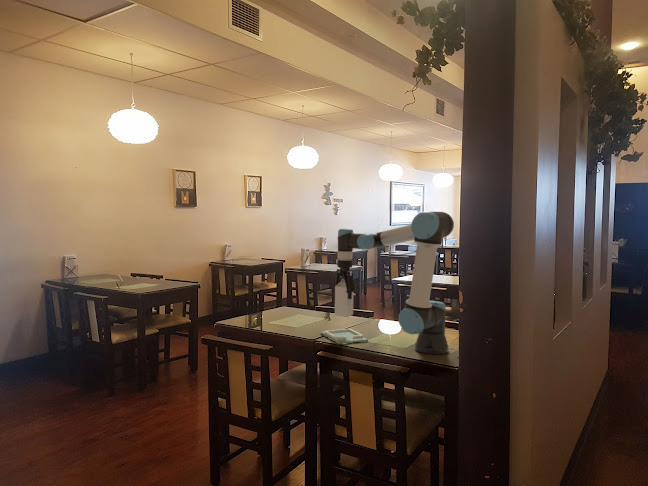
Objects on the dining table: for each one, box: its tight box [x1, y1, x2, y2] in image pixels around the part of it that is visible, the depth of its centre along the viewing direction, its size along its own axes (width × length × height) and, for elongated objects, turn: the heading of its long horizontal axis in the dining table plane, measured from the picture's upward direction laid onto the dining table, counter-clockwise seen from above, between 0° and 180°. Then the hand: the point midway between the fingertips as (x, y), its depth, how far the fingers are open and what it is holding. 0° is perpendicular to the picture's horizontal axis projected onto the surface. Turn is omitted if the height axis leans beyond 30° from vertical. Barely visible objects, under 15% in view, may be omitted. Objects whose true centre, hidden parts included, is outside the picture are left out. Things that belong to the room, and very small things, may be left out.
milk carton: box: [334, 279, 355, 318], centre depth 235 cm, size 7×7×19 cm
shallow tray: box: [320, 328, 369, 345], centre depth 237 cm, size 22×16×2 cm
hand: (344, 303), depth 236 cm, fingers closed on milk carton, 10 cm apart
